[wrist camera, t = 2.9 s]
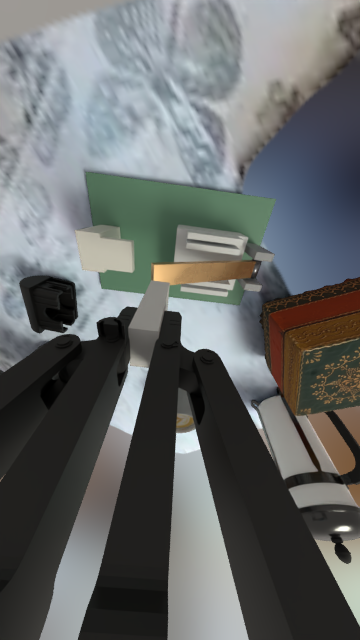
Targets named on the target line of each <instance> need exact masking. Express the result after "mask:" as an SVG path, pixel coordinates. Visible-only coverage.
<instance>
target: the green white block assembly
mask: <svg viewBox="0 0 360 640" xmlns="http://www.w3.org/2000/svg"><path fill="white" fill-rule="evenodd" d="M86 179H87V186H88V194H89V201H90V208H91V215H92V223H93V226H97V225H108V226H116V227H120V237H121V239H126V240H134V265H135V270H134V271H133V273H130V272H122V271H114V270H107V271H106V272H104V273H103V272H99V273H100V280H101V287H102V289H109V290H118V291H126V292H134V293H142V294H145V292H146V290H147V288H148V286H149V284H150V282H151V263H157V262H195V261H232V260H252V259H254V260H260V261H268V262H272V260H273V257H274V255H275V254H273V253H272V252H270V251H268V250H266V249H264V248H262V247H261V246H260V244H261V241H262V239H263V236H264V233H265V230H266V227H267V224H268V221H269V218H270V215H271V212H272V210H273V206H274V204H275V201H276V199H271V198H264V197H257V196H250V195H243V194H236V193H229V192H222V191H215V190H208V189H202V188H195V187H188V186H181V185H174V184H167V183H160V182H153V181H146V180H139V179H132V178H125V177H118V176H111V175H104V174H98V173H91V172H86ZM261 288H262V285H261V284H260V283H259V282H258V281H257V279H251V278H243V279H232V280H221V281H210V282H199V283H188V284H177V285H170V286H169V297H175V298H183V299H192V300H200V301H208V302H216V303H225V304H233V305H240V302H241V299H242V296H243V294H244V291H245V290H249V291H257V292H260V290H261Z"/></svg>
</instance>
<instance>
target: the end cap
mask: <svg viewBox="0 0 360 640" xmlns="http://www.w3.org/2000/svg"><path fill="white" fill-rule="evenodd" d="M19 284H20V288H21V292H22V296H23V299H24V303H25V306H26V310H27V314H28V317H29V321H30V324H31V328H32V329H33V330H34V331H35V332H37V333H42V332H43V331H44V330H50V331H55V332H60V333H65V332H66V331H67V329H68V328H66V327H63V324H65V325H70V326H71V325H72V324H73V323H74V322H75V319H77V318H78V312H77V301H76V290H75V284H74V283H73V282H71V281H67V280H62V279H58V278H53V277H50V276H30V277H27V278H24V279H22V280H21V281H20V283H19Z"/></svg>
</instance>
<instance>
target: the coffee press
mask: <svg viewBox="0 0 360 640" xmlns="http://www.w3.org/2000/svg"><path fill="white" fill-rule="evenodd" d="M253 403H255V404H256V405H258V406H259V407H258V408H257V407H256V406H255V405H254V404H253ZM251 406H252V407H253V408H254V409H255V410H256V411H257V413H258V415H259V418H260V421H261V424H262V427H263V430H264V433H265V436H266V439H267V442H268V445H269V448H270V451H271V454H272V456H273V460H274V462H275V464H276V466H277V468H278V470H279V472H280V474H281V476H282V478H283V480H284V482H285V484H286V486H287V488H288V489H289V491H290V493H291V495H292V497H293V499H294V501H295V503H296V505H297V507H298V509H299V511H300V513H301V514H302V516H303V518H304V520H305V522H306V524H307V526H308V528H309V530H310V532H311V534H312V536H313V538H314V539H317V540H324V541H332V542H333V543H335V544H336V545H335V554H336V555H337V556H338V558H339V559H340V560H341V561H343V562H344V563H346V564H348V563H350V562H351V555H350V554H351V553H350V552H349V551H348V549H347V548H346V547H345V546H344V545H342V544H341V543H343V541H347V540H354V539H357V538H360V507H359V506H357V504H356V503H355V501H354V499H353V497H352V496H351V494H350V492H349V488H348V486H347V485H351V484H356V485H357V484H360V446H359V445H358V443H357V442H356V440H355V439H354V438H353V436H352V435H351V434H350V432H349V431H348V429H347V428H346V427H345V425H344V424H343V422H342V421H341V420H340V418H339V417H338V416H337V414H336V413H335V412H334V411H333V410H332V411H327V412H325V413H326V414H327V415H328V417H329V418H330V420H331V421H332V422H333V424H334V425H335V427H336V428H337V430H338V431H339V433H340V434H341V436H342V437H343V439H344V440H345V442H346V443H347V445H348V446H349V448H350V450H351V451H352V453H353V455H354V457H355V461H356V465H355V468H354V470H352V471H351V472H348V473H347V474H343V475H339V473H338V471H337V469H336V468H335V466H334V464H333V462H332V460H331V459H330V457H329V455H328V454H327V452H326V450H325V448H324V447H323V445H322V443H321V441H320V439H319V438H318V436H317V434H316V432H315V430H314V429H313V427H312V425H311V423H310V422H309V420H308V416H307V415H304V416H295V415H294V414H293V412H292V410H291V409H290V407H289V405H288V403H287V401H286V399H285V397H284V395H283V394H282V392H281V390H280V388H279V387H277V396H273V397H270V398H267V399H265V400H264V401H262V402H261V403H258V402H256V401H255V400H252V401H251Z"/></svg>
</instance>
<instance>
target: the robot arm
mask: <svg viewBox="0 0 360 640" xmlns="http://www.w3.org/2000/svg"><path fill="white" fill-rule="evenodd" d="M169 286H170V283H168V282H160V281H152V280H151V282H150V284H149V286H148V288H147V290H146V292H145V294H144V296H143V299H142V301H141V303H140V305H139V307H138V308H135V307H126V308H125V309H123V310H122V311H121V313H120V314H119V316H118V317H117V318H116V317H108V318H104V319H101V320H99V321H98V322H97V329H98V335H99V337H98V338H97V339H96V340H90V341H80V338H79V337H78V336H76V335H73V334H66V335H61V336H58V337H56V338H54V339H52V340H51V341H49V342H48V343H46V344H44V345H42V346H40V347H39V348H38V349H37V350H35V351H34V352H33V353H32V354H30V355H29V356H27V357H26V358H24V359H23V360H21V361H20V362H18V363H17V364H16V365H14V366H13V367H11V368H10V369H8V370H7V371H5V372H3V371H2V370H0V479H1V478H2V477H3V476H4V475H5V476H4V477H3V479H2V480H1V482H0V640H39V638H40V635H41V632H42V630H43V627H44V624H45V621H46V618H47V614H48V611H49V608H50V604H51V600H52V596H53V590H54V582H55V578H56V574H57V570H58V568H59V564H60V562H61V559H62V556H63V553H64V551H65V548H66V545H67V542H68V539H69V536H70V533H71V531H72V528H73V525H74V522H75V520H76V516H77V514H78V511H79V508H80V506H81V503H82V500H83V497H84V494H85V492H86V489H87V486H88V483H89V480H90V477H91V474H92V472H93V469H94V466H95V463H96V460H97V458H98V455H99V452H100V449H101V446H102V444H103V441H104V438H105V435H106V433H107V430H108V427H109V424H110V421H111V418H112V416H113V413H114V410H115V407H116V404H117V402H118V399H119V396H120V393H121V390H122V388H123V385H124V382H125V379H126V376H127V373H128V364H129V361H130V366H137V367H146V368H149V370H148V374H147V378H146V382H145V386H144V391H143V395H142V399H141V403H140V407H139V411H138V415H137V419H136V423H135V428H134V432H133V436H132V440H131V444H130V448H129V452H128V456H127V461H126V465H125V469H124V473H123V477H122V481H121V485H120V490H119V494H118V497H117V502H116V506H115V510H114V514H113V518H112V522H111V527H110V531H109V534H108V539H107V543H106V547H105V551H104V555H103V559H102V563H101V567H100V571H99V575H98V578H97V581H96V585H95V588H94V591H93V594H92V596H91V599H90V602H89V604H88V607H87V610H86V614H85V617H84V620H83V624H82V627H81V630H80V633H79V637H78V640H167V636H168V634H167V633H168V571H169V552H170V551H169V550H170V534H171V533H170V532H171V515H172V497H173V496H172V495H173V479H174V461H175V443H176V424H177V406H178V388H180V389H182V390H185V391H187V397H188V401H189V404H190V408H191V412H192V416H193V420H194V424H195V428H196V432H197V436H198V440H199V444H200V448H201V452H202V456H203V460H204V463H205V468H206V471H207V476H208V480H209V484H210V488H211V491H212V495H213V499H214V503H215V507H216V511H217V515H218V519H219V523H220V527H221V531H222V535H223V538H224V543H225V547H226V551H227V555H228V559H229V563H230V567H231V570H232V575H233V579H234V582H235V586H236V590H237V594H238V598H239V602H240V606H241V610H242V614H243V618H244V622H245V626H246V630H247V634H248V638H249V640H360V626H359V624H358V623H357V621H356V618H355V617H354V615H353V613H352V611H351V609H350V607H349V605H348V603H347V601H346V600H345V597H344V595H343V594H342V592H341V590H340V588H339V586H338V584H337V582H336V580H335V578H334V576H333V574H332V572H331V570H330V569H329V566H328V565H327V563H326V561H325V559H324V557H323V555H322V553H321V551H320V549H319V547H318V545H317V543H316V542H315V540H314V538H313V536H312V534H311V532H310V530H309V528H308V526H307V524H306V522H305V520H304V518H303V516H302V514H301V513H300V511H299V509H298V507H297V505H296V503H295V501H294V499H293V497H292V495H291V493H290V491H289V489H288V488H287V486H286V484H285V482H284V480H283V478H282V476H281V474H280V472H279V470H278V468H277V466H276V464H275V462H274V461H273V459H272V457H271V455H270V453H269V451H268V449H267V447H266V445H265V444H264V442H263V439H262V437H261V436H260V434H259V432H258V430H257V428H256V426H255V424H254V422H253V420H252V418H251V416H250V414H249V412H248V410H247V409H246V407H245V405H244V403H243V401H242V399H241V397H240V395H239V393H238V391H237V389H236V387H235V385H234V384H233V382H232V380H231V378H230V376H229V374H228V372H227V370H226V368H225V366H224V364H223V362H222V360H221V358H220V357H219V356H218V354H217V353H215V352H214V351H211V350H209V349H200V350H198V351H196V352H195V353H194V352H192V351H189V350H187V349H186V348H184V347H183V346H182V344H181V341H180V337H181V320H182V316H181V315H180V313H179V312H172V311H167V308H168V297H169Z"/></svg>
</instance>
